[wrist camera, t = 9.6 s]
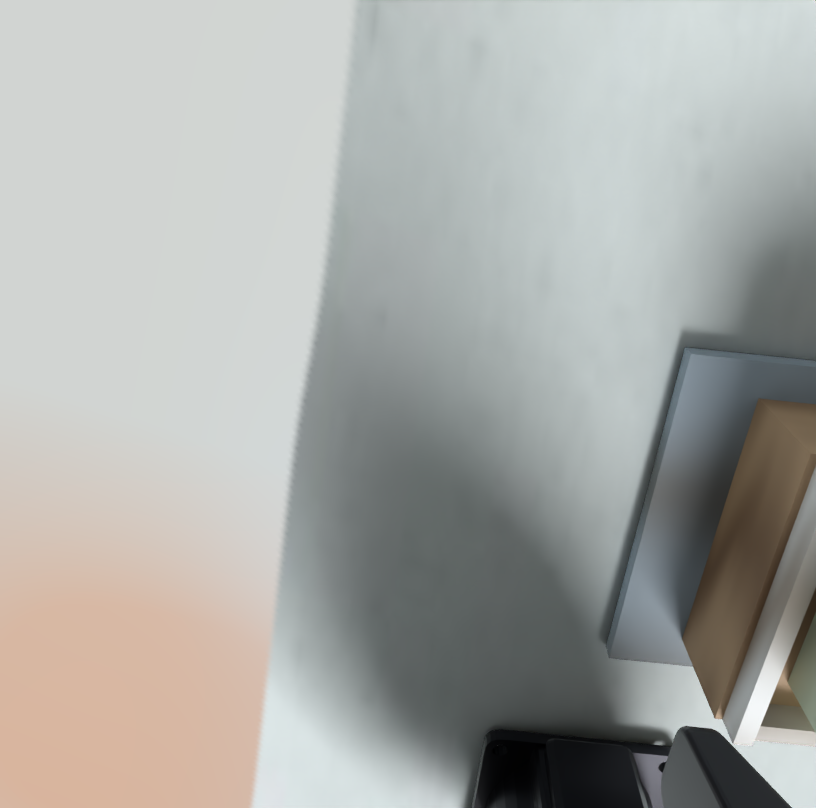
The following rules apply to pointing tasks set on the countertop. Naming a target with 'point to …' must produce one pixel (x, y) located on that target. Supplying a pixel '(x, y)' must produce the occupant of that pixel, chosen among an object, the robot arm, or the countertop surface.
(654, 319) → the countertop surface
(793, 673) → the sage block
